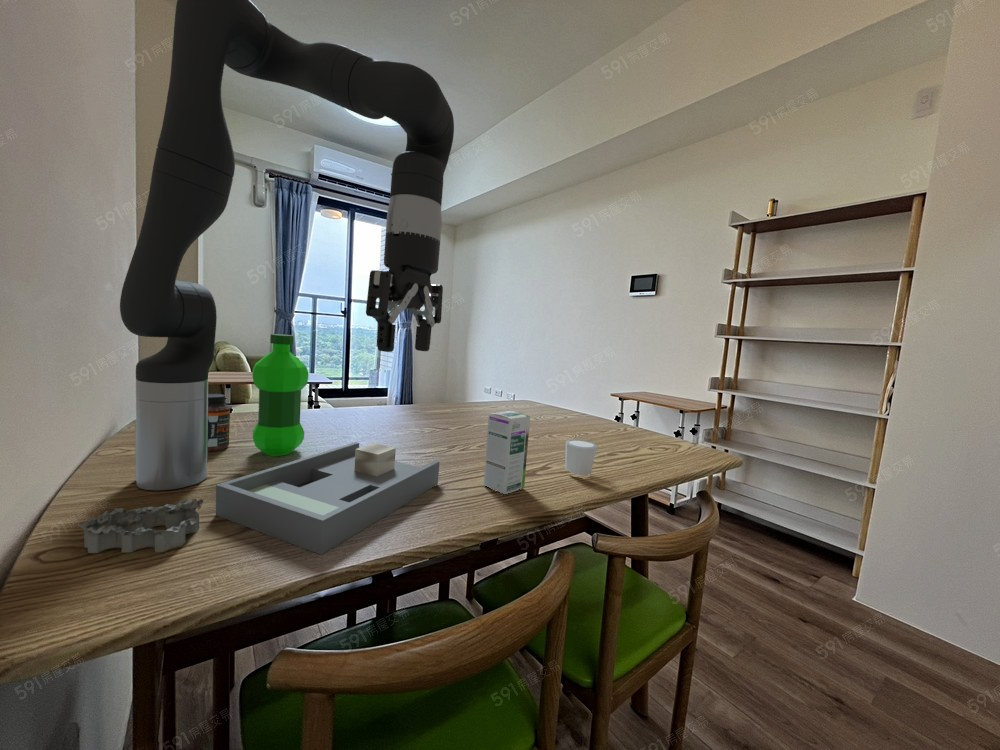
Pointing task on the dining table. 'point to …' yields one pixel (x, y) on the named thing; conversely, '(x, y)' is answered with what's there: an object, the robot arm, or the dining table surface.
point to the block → (374, 459)
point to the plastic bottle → (279, 398)
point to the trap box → (320, 497)
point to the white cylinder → (579, 456)
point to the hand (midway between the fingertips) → (404, 351)
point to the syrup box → (506, 451)
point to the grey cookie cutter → (142, 527)
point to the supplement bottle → (218, 422)
